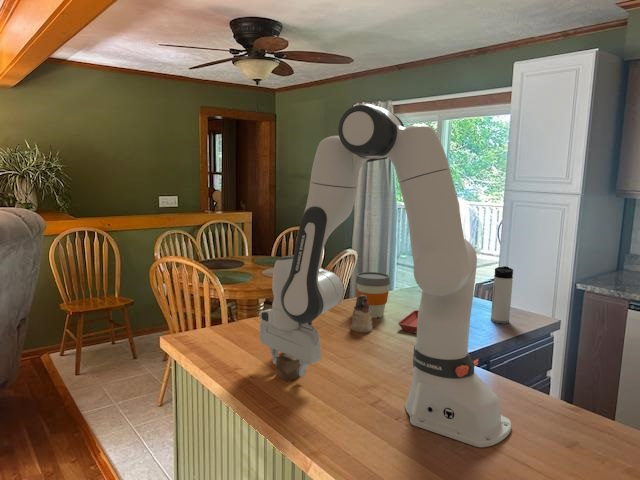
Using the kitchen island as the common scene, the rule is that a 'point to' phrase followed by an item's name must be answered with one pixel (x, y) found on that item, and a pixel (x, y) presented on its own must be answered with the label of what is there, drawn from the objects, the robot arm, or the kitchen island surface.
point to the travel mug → (502, 295)
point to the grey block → (287, 367)
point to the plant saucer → (410, 322)
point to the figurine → (362, 316)
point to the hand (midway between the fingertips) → (288, 369)
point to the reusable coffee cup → (374, 290)
